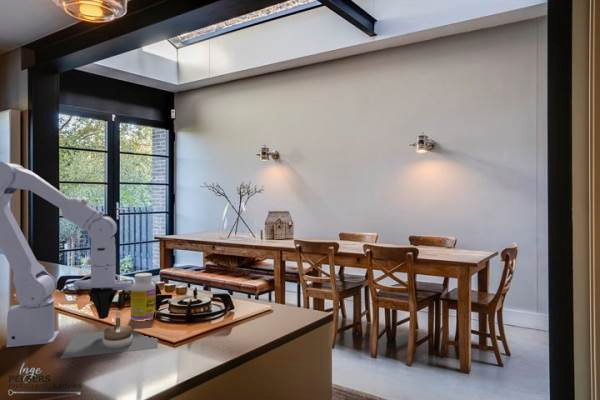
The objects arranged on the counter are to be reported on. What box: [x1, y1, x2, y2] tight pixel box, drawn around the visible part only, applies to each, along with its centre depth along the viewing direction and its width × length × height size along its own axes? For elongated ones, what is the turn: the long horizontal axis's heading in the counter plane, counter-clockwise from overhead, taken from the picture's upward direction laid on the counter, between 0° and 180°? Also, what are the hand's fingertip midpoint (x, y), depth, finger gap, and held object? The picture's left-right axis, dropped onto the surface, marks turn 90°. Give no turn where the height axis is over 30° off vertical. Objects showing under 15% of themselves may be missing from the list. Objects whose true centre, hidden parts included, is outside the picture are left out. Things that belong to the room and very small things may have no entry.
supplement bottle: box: [130, 272, 157, 321], centre depth 120 cm, size 7×7×13 cm
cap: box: [103, 310, 133, 341], centre depth 103 cm, size 12×6×4 cm, turn 23°
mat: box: [60, 330, 159, 359], centre depth 102 cm, size 20×16×1 cm
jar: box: [103, 335, 132, 348], centre depth 100 cm, size 6×6×2 cm
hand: (103, 317), depth 107 cm, fingers closed
